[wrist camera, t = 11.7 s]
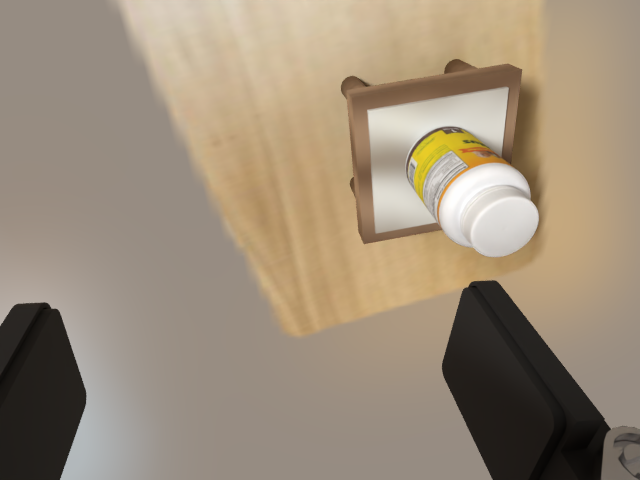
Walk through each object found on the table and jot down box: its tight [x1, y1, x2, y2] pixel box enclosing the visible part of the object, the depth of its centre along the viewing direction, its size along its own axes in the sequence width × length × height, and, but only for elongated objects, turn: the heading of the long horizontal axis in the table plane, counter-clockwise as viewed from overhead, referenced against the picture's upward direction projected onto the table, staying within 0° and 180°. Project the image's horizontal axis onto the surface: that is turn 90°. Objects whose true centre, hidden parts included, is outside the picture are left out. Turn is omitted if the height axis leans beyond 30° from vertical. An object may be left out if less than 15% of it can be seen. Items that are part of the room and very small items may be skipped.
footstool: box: [341, 59, 522, 244], centre depth 37 cm, size 12×12×8 cm
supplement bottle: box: [405, 126, 539, 257], centre depth 29 cm, size 6×6×10 cm
